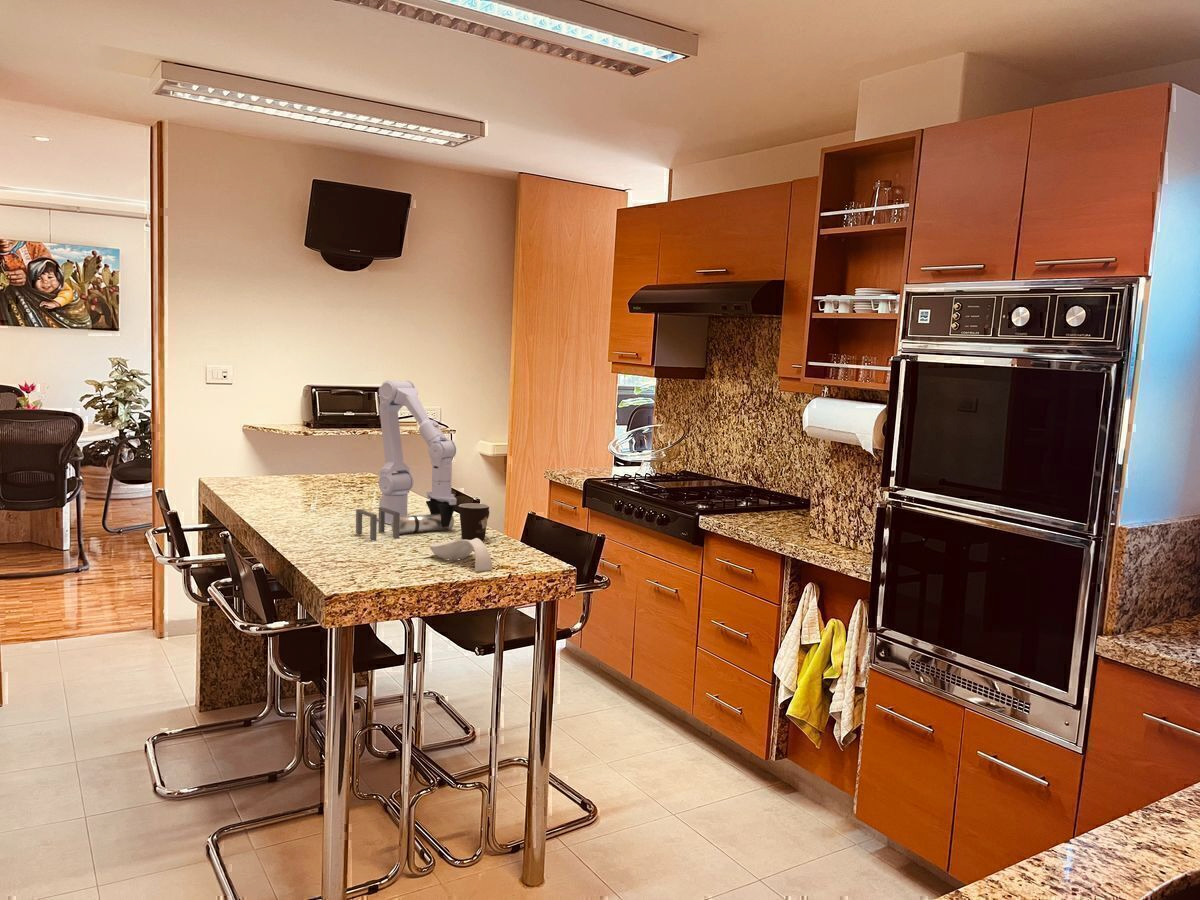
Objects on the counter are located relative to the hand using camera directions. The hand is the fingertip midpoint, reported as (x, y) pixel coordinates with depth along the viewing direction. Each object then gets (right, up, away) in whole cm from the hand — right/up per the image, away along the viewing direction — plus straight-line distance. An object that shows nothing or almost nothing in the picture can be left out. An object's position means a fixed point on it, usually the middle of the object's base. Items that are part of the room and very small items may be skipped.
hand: (440, 525), depth 270 cm
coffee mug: (+13, -3, -12) cm, 18 cm away
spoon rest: (+13, -6, -41) cm, 44 cm away
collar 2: (-13, -2, -11) cm, 17 cm away
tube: (-5, -2, -4) cm, 6 cm away
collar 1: (-19, -2, -15) cm, 24 cm away
